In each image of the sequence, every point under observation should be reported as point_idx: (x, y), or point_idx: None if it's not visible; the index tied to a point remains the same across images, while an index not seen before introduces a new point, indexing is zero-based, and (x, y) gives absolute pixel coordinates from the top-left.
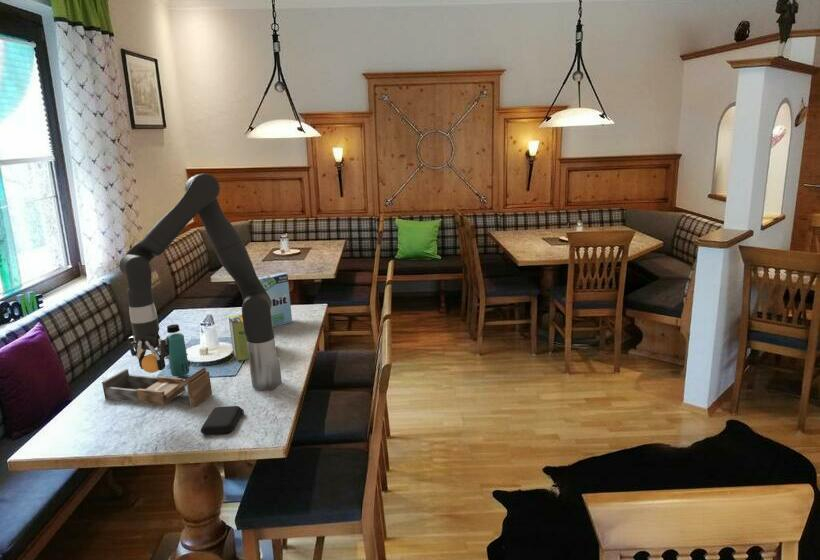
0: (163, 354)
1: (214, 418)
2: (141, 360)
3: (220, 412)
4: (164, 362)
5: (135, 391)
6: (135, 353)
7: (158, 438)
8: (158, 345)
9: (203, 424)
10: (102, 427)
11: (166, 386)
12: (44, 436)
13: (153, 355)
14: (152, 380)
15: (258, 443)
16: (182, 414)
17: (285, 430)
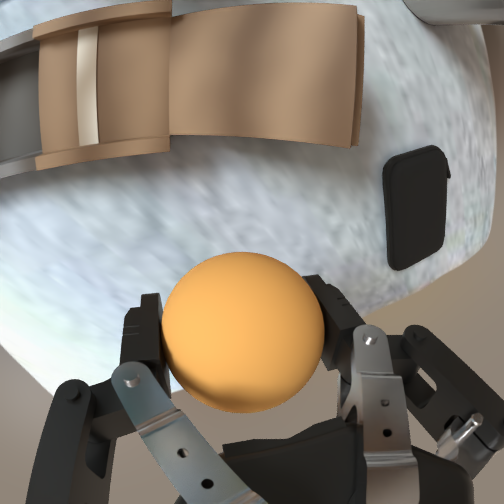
0: (413, 387)
1: (416, 232)
2: (169, 382)
3: (421, 201)
4: (350, 309)
5: (33, 170)
6: (112, 432)
7: None
8: (389, 423)
9: (392, 248)
10: (102, 316)
11: (112, 61)
12: (31, 368)
13: (297, 386)
14: (15, 49)
15: (467, 251)
16: (288, 186)
17: (492, 205)
